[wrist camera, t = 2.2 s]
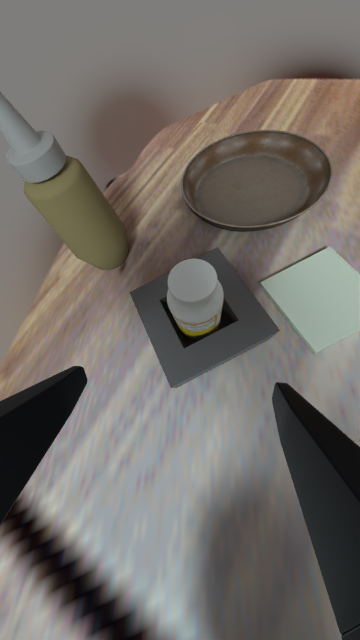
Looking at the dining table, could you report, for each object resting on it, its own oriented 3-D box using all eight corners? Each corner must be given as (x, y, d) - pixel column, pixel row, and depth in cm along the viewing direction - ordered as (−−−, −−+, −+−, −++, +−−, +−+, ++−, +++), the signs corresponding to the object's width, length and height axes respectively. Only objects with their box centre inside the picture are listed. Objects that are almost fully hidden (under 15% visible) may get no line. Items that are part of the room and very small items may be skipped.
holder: (269, 339, 21) (279, 330, 18) (177, 387, 21) (170, 387, 18) (216, 265, 26) (217, 247, 23) (140, 304, 26) (129, 292, 22)
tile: (393, 311, 20) (398, 309, 20) (313, 354, 20) (316, 353, 20) (326, 249, 24) (329, 246, 24) (259, 284, 24) (260, 282, 23)
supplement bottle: (206, 349, 22) (202, 323, 13) (169, 327, 24) (145, 291, 15) (228, 313, 23) (239, 267, 14) (192, 294, 25) (182, 242, 16)
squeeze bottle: (84, 280, 29) (-93, 130, 12) (90, 239, 31) (-47, 71, 15) (134, 273, 28) (18, 97, 11) (136, 231, 30) (44, 41, 14)
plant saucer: (172, 173, 34) (169, 152, 31) (284, 137, 33) (292, 112, 30) (201, 261, 27) (200, 245, 24) (347, 220, 25) (366, 196, 22)
